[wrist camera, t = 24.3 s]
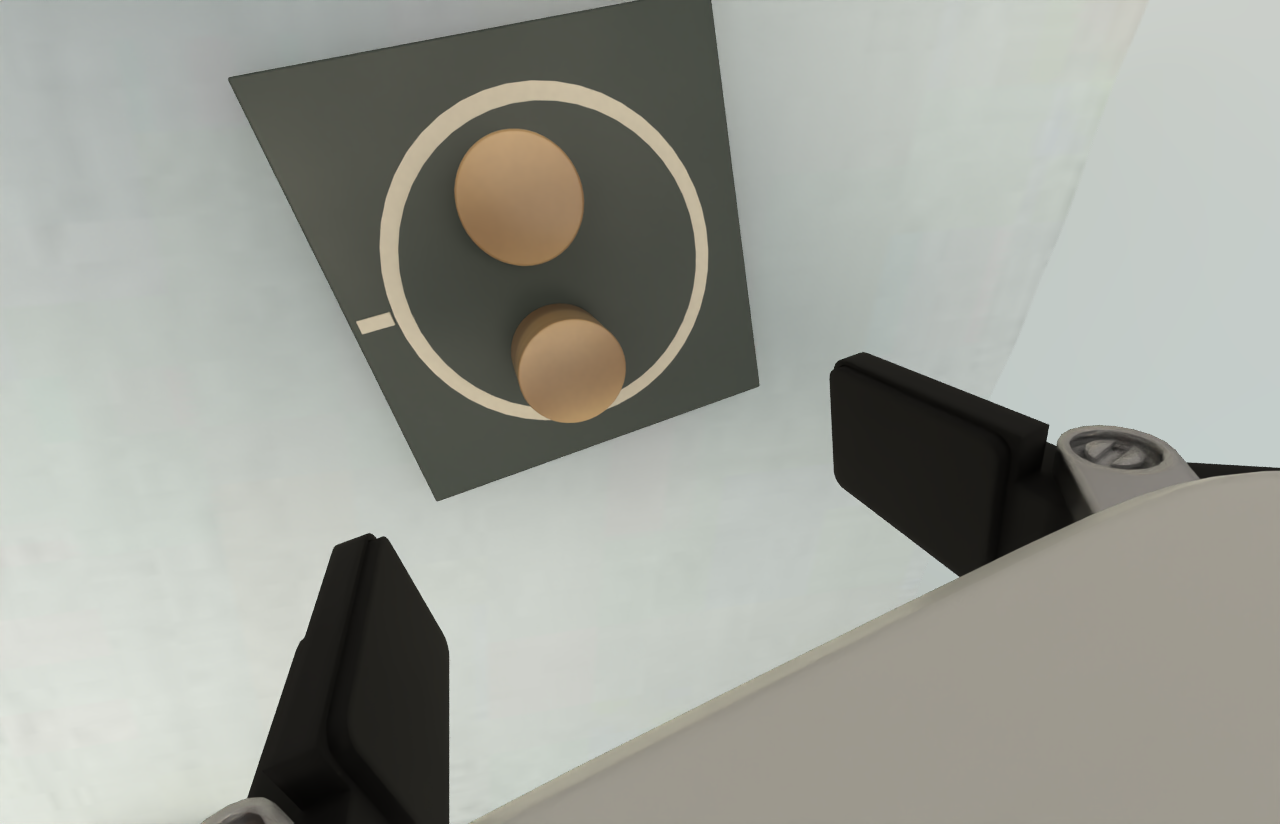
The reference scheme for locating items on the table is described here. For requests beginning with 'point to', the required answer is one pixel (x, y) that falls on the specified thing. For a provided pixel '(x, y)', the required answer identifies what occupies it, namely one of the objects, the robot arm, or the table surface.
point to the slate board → (504, 293)
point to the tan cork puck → (519, 197)
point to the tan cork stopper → (567, 363)
